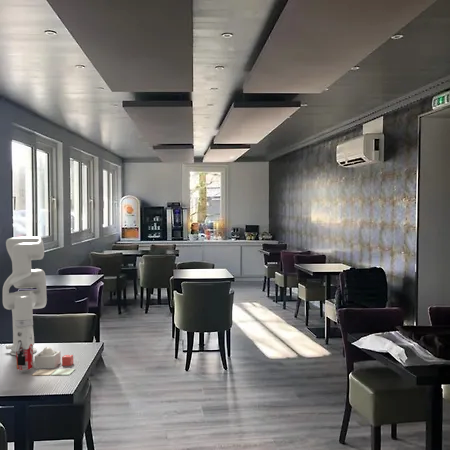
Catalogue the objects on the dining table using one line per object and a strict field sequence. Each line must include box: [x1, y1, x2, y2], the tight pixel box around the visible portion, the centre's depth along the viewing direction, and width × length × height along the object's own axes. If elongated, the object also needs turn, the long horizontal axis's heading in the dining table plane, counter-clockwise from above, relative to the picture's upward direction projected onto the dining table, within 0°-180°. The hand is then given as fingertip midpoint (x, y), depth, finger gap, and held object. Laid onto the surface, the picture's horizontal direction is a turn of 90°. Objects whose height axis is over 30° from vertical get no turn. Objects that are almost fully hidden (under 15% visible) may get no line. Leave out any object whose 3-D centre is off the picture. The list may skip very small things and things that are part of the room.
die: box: [61, 354, 74, 367], centre depth 251 cm, size 4×4×4 cm
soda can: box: [15, 344, 34, 372], centre depth 238 cm, size 7×7×12 cm
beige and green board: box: [31, 368, 76, 377], centre depth 238 cm, size 16×8×1 cm, turn 89°
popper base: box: [34, 350, 62, 369], centre depth 250 cm, size 9×9×6 cm
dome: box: [39, 346, 56, 356], centre depth 250 cm, size 6×6×5 cm
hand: (24, 362), depth 238 cm, fingers closed on soda can, 7 cm apart
